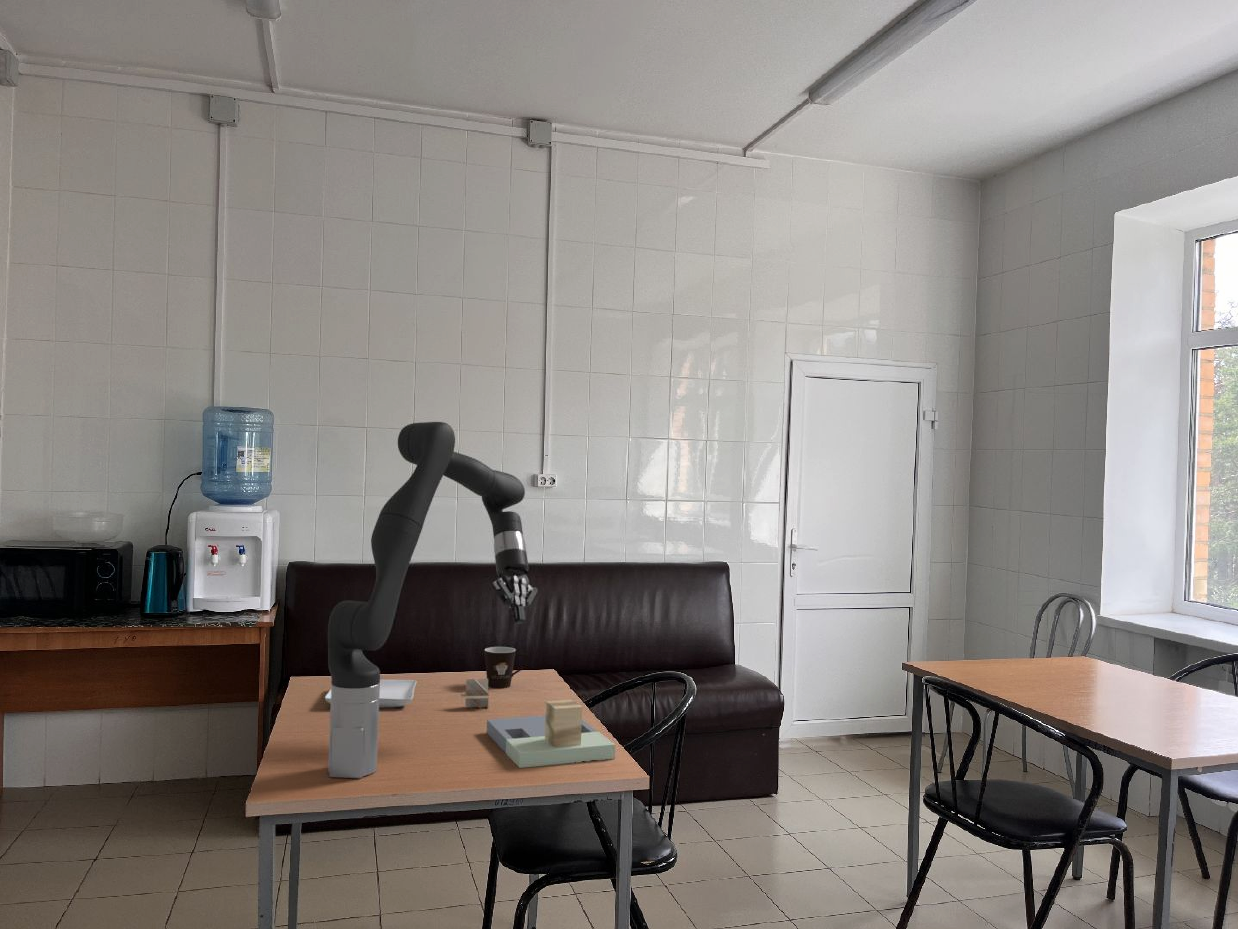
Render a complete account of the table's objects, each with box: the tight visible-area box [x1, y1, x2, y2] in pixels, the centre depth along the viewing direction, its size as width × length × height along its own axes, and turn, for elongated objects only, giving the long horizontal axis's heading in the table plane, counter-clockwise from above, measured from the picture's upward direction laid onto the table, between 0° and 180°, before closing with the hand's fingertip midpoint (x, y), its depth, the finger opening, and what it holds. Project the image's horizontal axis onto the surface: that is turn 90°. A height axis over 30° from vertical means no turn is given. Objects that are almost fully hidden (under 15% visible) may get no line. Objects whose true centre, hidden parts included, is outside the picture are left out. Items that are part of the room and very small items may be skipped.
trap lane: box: [486, 714, 616, 769], centre depth 203 cm, size 26×21×3 cm
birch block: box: [545, 699, 583, 747], centre depth 195 cm, size 6×6×8 cm
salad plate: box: [324, 679, 418, 709], centre depth 237 cm, size 21×21×3 cm
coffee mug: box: [484, 646, 529, 690], centre depth 256 cm, size 12×9×10 cm
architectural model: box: [460, 678, 490, 710], centre depth 231 cm, size 3×7×7 cm, turn 101°
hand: (519, 622), depth 210 cm, fingers closed
